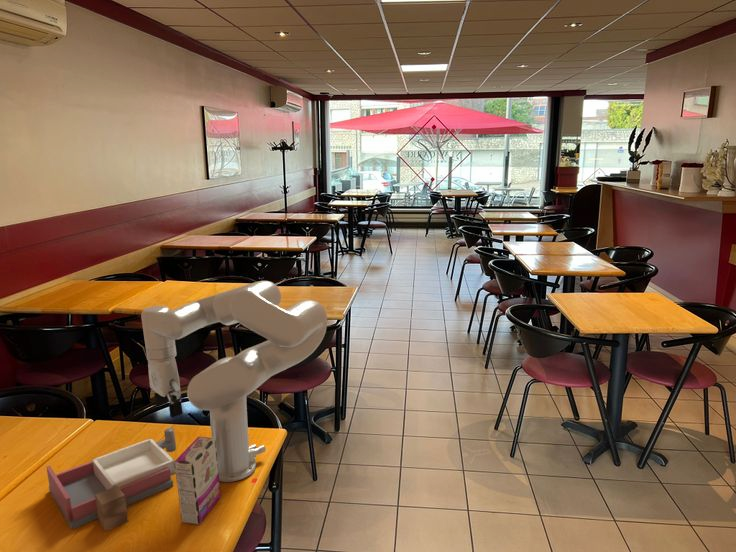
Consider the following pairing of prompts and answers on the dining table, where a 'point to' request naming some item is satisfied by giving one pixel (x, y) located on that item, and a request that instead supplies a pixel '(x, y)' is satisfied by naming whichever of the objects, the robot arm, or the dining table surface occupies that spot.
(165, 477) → the bay
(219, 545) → the dining table surface
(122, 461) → the white tray
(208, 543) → the dining table surface
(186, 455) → the candy bar box
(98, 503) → the walnut block
